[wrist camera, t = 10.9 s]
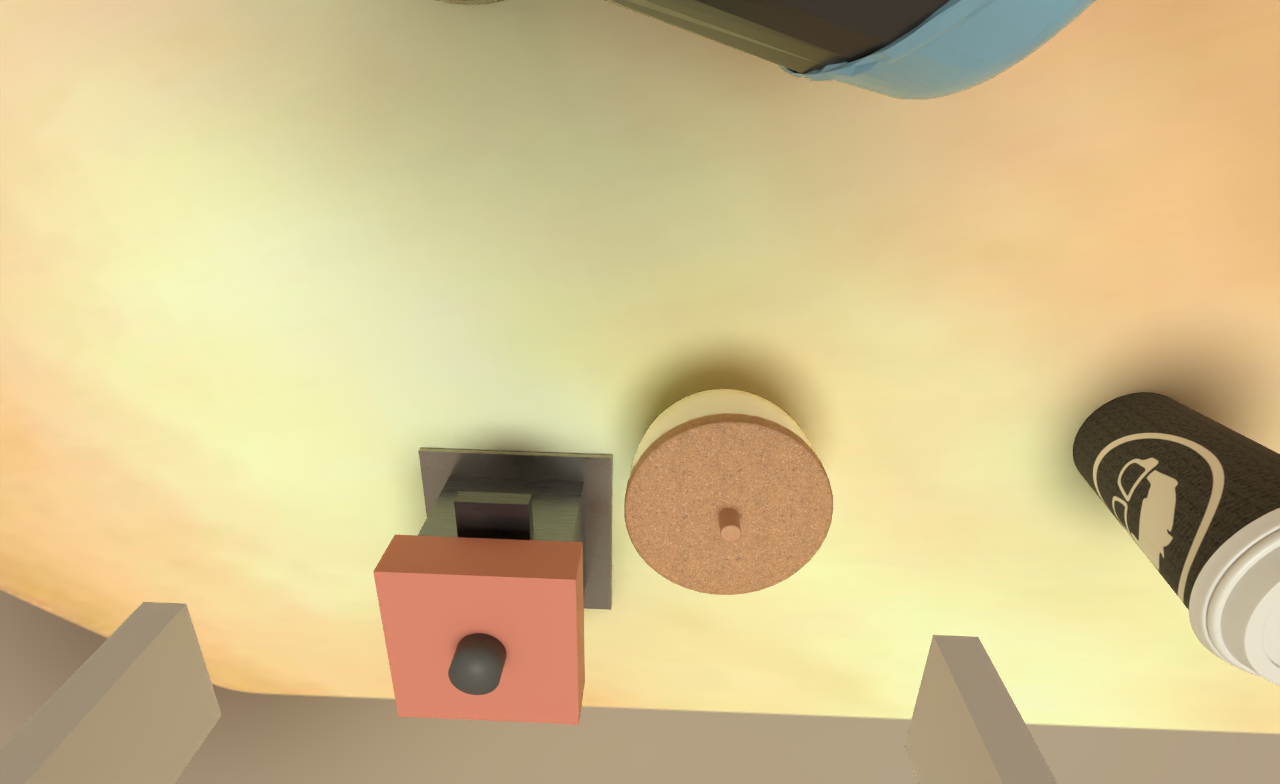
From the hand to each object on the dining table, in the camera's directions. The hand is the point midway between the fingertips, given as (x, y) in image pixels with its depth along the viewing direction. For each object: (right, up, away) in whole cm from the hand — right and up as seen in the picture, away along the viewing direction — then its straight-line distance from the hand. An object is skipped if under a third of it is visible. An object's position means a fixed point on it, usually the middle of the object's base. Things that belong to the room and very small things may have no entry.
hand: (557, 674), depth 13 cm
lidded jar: (+6, +2, +31) cm, 31 cm away
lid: (-7, -7, +27) cm, 28 cm away
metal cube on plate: (-6, -4, +34) cm, 35 cm away
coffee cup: (+31, +2, +30) cm, 43 cm away
